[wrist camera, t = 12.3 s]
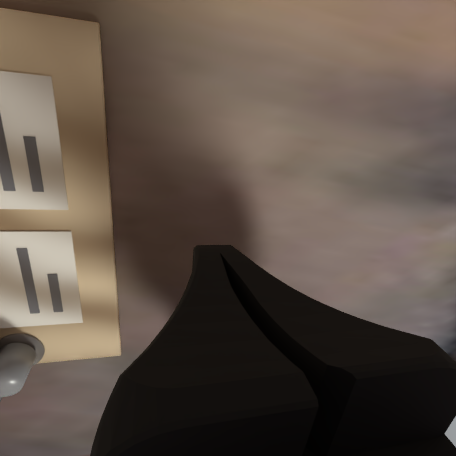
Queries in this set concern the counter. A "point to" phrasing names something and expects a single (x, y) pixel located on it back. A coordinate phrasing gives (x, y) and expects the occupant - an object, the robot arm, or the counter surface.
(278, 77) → the counter surface
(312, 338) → the robot arm
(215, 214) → the counter surface
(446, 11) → the counter surface
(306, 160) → the counter surface
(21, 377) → the grey slotted block
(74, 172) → the label board
